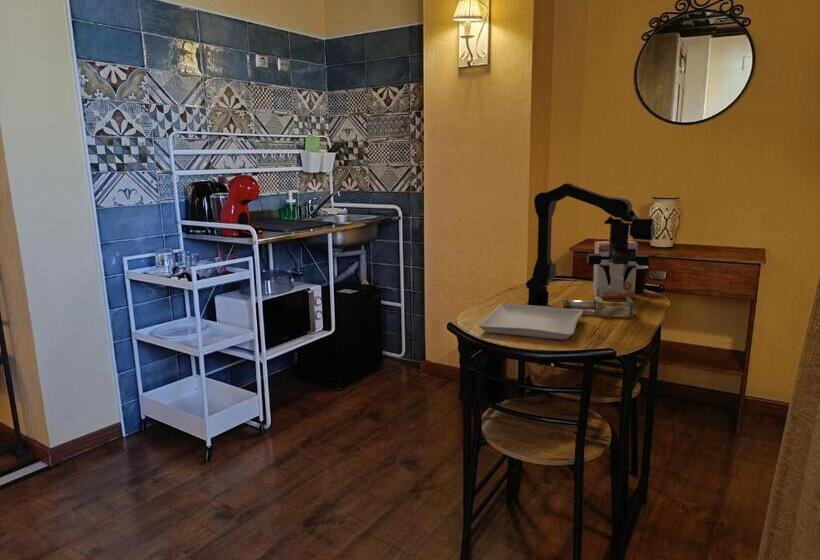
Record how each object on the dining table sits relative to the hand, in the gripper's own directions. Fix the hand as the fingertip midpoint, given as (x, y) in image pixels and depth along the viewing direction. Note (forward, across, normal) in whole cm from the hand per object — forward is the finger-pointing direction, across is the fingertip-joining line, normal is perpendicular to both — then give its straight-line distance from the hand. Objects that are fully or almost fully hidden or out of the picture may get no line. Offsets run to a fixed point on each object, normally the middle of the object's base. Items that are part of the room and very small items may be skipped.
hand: (615, 285), depth 188 cm
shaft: (+10, -10, 0) cm, 14 cm away
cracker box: (+10, +3, +25) cm, 27 cm away
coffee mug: (+10, +12, +36) cm, 40 cm away
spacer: (+1, 0, 0) cm, 1 cm away
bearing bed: (+10, -5, 0) cm, 11 cm away
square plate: (+11, -26, -19) cm, 34 cm away
